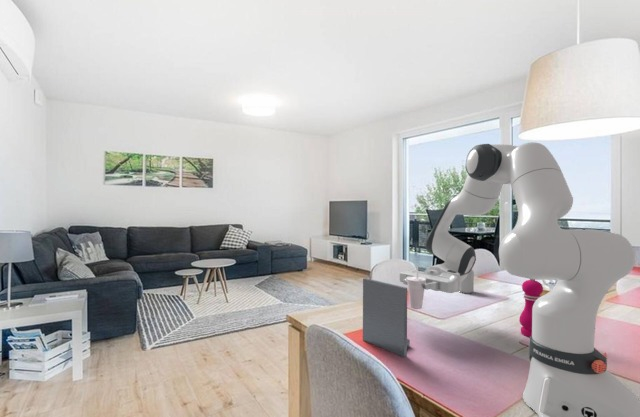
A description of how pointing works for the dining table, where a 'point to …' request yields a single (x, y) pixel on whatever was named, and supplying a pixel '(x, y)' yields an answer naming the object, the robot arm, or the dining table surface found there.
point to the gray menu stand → (385, 316)
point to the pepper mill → (529, 304)
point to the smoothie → (416, 290)
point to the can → (468, 283)
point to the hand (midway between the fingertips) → (414, 284)
